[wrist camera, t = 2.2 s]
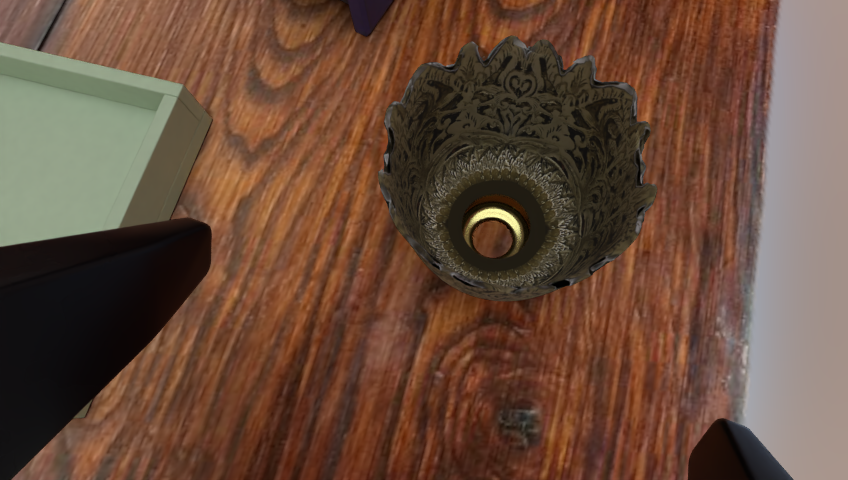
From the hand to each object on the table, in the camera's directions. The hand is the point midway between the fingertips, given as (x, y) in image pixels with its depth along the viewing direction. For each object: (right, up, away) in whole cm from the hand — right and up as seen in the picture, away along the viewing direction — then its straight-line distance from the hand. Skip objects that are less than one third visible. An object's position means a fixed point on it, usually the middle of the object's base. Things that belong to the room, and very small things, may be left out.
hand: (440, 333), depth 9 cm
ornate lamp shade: (+3, +2, +13) cm, 13 cm away
